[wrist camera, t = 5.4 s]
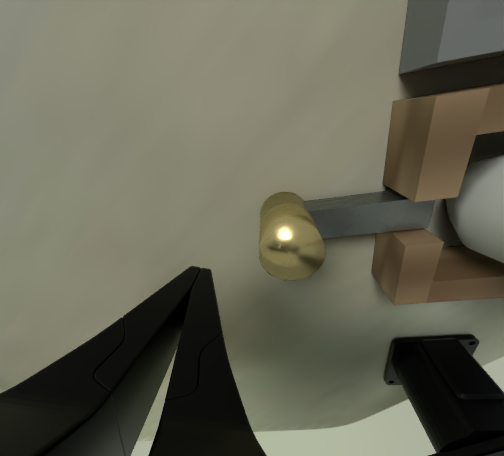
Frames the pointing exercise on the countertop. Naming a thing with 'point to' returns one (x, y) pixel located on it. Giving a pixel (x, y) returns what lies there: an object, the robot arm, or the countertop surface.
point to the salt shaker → (481, 208)
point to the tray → (451, 32)
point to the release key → (328, 226)
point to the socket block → (436, 196)
